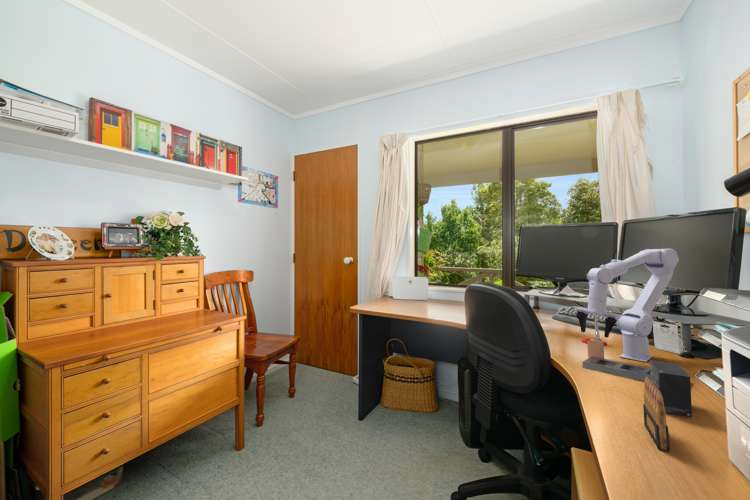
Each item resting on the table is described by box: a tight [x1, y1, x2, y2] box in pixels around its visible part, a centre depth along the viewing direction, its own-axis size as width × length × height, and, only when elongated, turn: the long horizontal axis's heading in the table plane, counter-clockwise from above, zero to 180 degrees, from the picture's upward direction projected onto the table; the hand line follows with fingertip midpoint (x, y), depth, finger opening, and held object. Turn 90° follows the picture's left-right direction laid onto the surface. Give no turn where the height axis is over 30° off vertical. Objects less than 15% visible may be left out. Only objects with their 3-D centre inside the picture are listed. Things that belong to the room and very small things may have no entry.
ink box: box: [652, 320, 685, 355], centre depth 126 cm, size 3×9×12 cm, turn 13°
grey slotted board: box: [581, 356, 651, 383], centre depth 104 cm, size 9×26×2 cm, turn 37°
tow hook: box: [581, 315, 608, 346], centre depth 141 cm, size 8×13×9 cm
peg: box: [586, 338, 605, 359], centre depth 120 cm, size 4×4×7 cm
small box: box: [649, 359, 693, 419], centre depth 82 cm, size 11×6×10 cm, turn 148°
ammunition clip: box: [642, 376, 671, 453], centre depth 69 cm, size 11×2×12 cm, turn 151°
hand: (594, 334), depth 119 cm, fingers open, 7 cm apart
